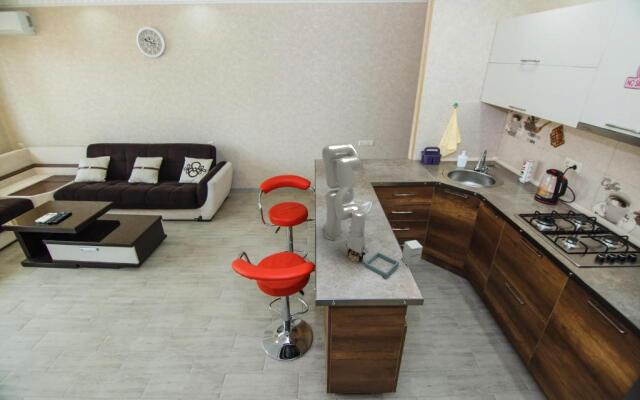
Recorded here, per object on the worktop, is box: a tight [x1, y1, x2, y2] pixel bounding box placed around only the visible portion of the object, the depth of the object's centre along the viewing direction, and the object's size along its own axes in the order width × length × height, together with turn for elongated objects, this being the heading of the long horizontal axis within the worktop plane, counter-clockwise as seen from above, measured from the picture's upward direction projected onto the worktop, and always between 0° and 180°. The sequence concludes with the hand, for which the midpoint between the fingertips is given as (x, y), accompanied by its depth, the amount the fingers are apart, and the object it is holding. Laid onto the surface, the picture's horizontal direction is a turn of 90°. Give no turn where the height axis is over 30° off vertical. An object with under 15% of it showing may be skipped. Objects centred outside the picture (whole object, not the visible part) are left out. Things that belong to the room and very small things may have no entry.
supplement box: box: [401, 239, 424, 268], centre depth 171 cm, size 7×7×13 cm
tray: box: [364, 251, 400, 280], centre depth 169 cm, size 14×14×3 cm
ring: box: [348, 250, 360, 263], centre depth 175 cm, size 7×7×3 cm
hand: (355, 257), depth 175 cm, fingers closed on ring, 7 cm apart
